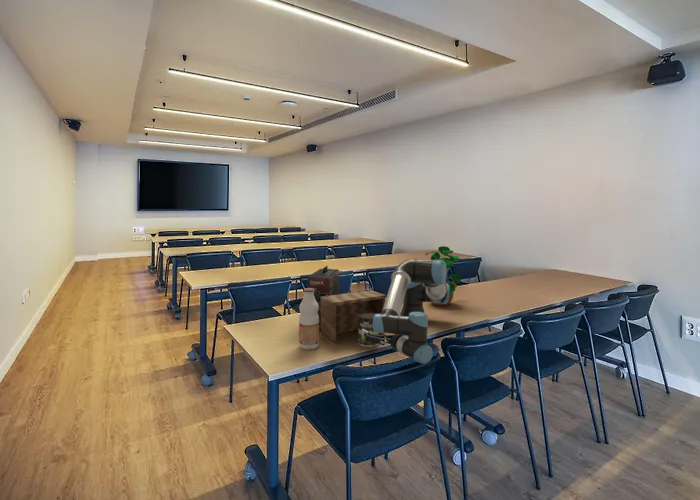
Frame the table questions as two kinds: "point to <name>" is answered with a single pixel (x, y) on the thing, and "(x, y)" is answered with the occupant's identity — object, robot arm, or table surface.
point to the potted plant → (448, 262)
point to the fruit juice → (309, 321)
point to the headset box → (323, 285)
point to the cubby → (347, 311)
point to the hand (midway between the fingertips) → (374, 329)
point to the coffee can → (366, 328)
